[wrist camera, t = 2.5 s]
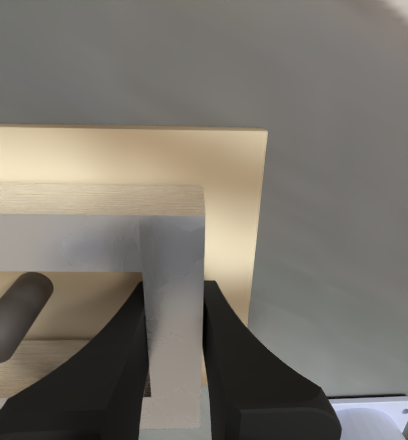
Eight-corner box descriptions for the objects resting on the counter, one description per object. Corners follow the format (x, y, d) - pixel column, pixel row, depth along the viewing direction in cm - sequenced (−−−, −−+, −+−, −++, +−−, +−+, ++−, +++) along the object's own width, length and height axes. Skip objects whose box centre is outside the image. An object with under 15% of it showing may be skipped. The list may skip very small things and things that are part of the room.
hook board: (237, 366, 18) (253, 452, 14) (-38, 375, 17) (-112, 471, 13) (260, 127, 12) (299, 148, 8) (-148, 120, 12) (-347, 140, 7)
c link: (199, 368, 16) (200, 428, 13) (-34, 369, 15) (-85, 430, 13) (203, 185, 12) (205, 215, 9) (-113, 181, 11) (-213, 211, 9)
